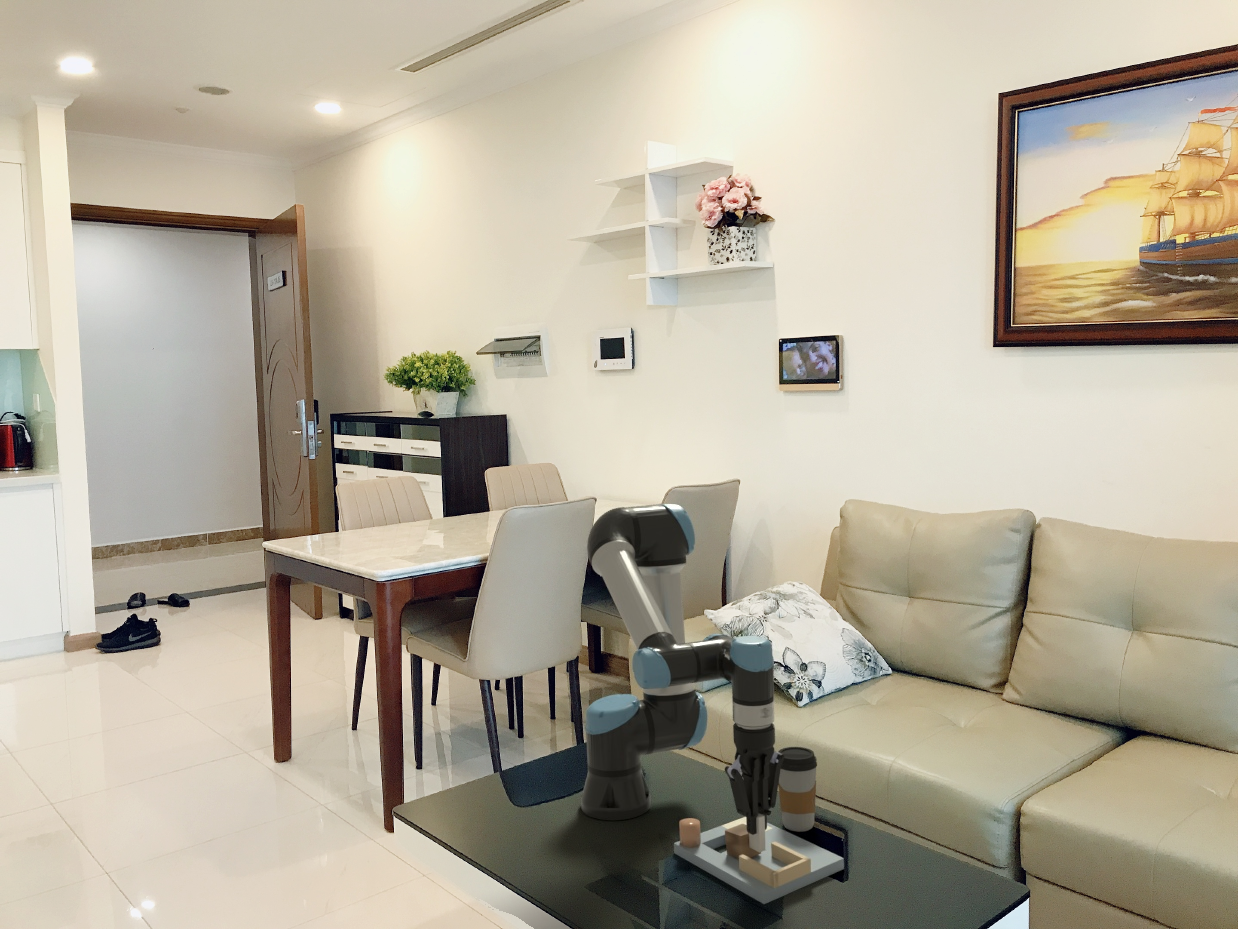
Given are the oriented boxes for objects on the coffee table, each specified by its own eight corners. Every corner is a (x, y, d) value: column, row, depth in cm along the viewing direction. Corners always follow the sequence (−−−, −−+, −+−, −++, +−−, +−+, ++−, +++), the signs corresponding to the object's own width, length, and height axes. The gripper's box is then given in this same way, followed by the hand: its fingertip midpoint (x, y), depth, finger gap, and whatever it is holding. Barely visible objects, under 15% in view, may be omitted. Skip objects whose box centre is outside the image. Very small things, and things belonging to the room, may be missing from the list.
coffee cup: (819, 835, 191) (816, 761, 191) (776, 833, 193) (774, 759, 192) (819, 817, 200) (816, 746, 199) (778, 815, 201) (776, 745, 200)
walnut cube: (727, 854, 181) (724, 830, 181) (744, 847, 183) (742, 823, 183) (743, 860, 177) (740, 836, 177) (761, 853, 179) (758, 829, 180)
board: (674, 853, 186) (673, 830, 186) (751, 824, 198) (750, 802, 197) (764, 904, 166) (763, 878, 166) (844, 869, 177) (843, 845, 177)
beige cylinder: (675, 842, 186) (675, 822, 186) (691, 836, 189) (691, 816, 189) (688, 849, 183) (688, 829, 183) (705, 843, 185) (704, 823, 185)
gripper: (740, 736, 169) (744, 867, 170) (794, 720, 176) (797, 845, 178) (713, 725, 175) (717, 852, 176) (765, 710, 182) (769, 831, 184)
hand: (757, 848), depth 177 cm, fingers closed
